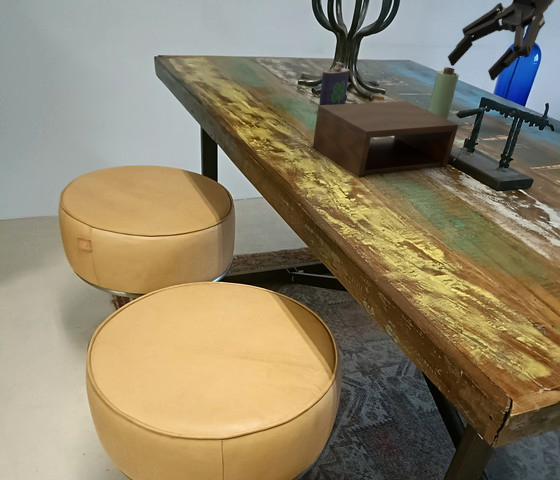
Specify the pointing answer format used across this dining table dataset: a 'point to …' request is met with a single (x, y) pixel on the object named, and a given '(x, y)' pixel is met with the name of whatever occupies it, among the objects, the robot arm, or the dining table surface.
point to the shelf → (383, 123)
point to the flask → (334, 85)
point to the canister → (443, 92)
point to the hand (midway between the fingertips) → (469, 68)
